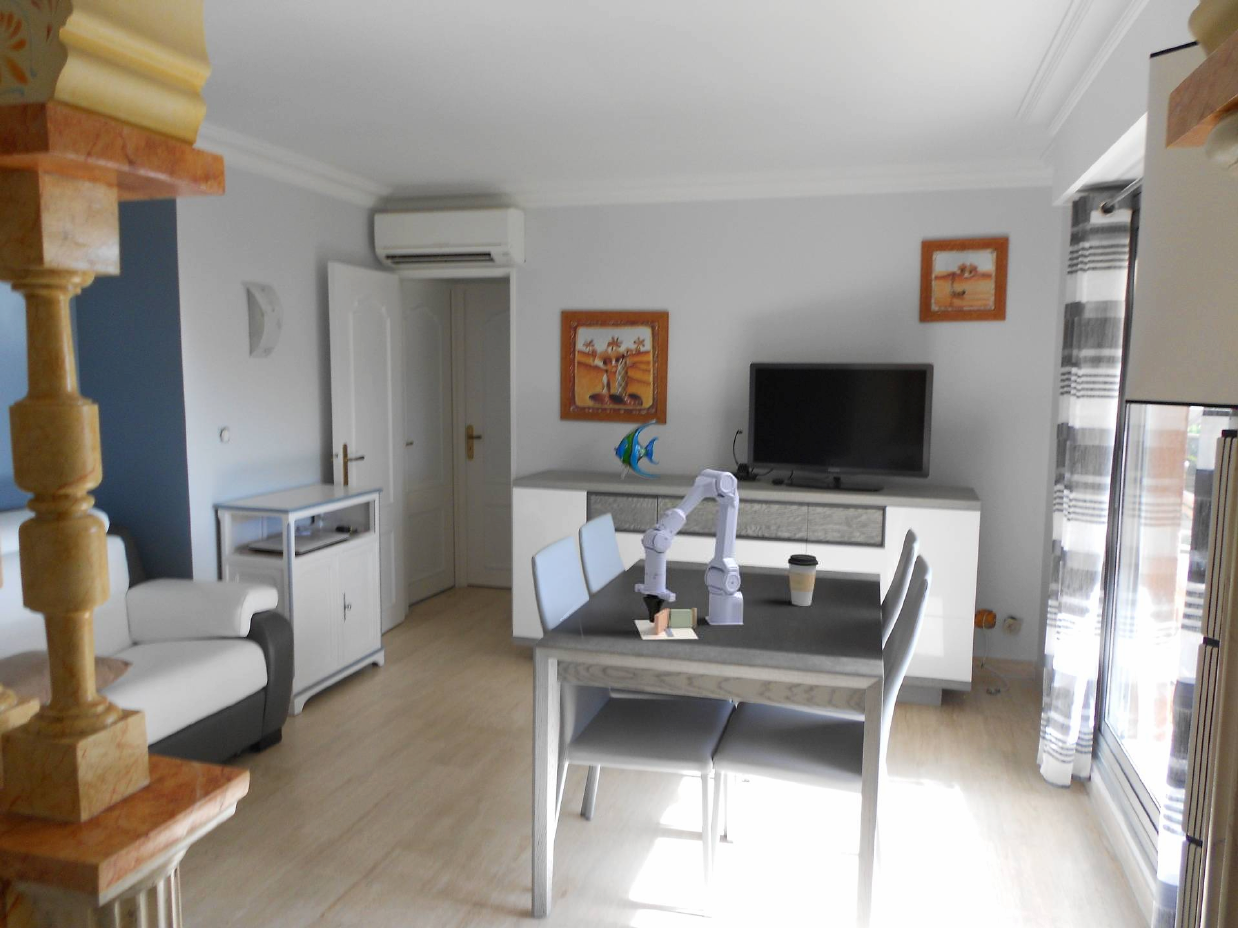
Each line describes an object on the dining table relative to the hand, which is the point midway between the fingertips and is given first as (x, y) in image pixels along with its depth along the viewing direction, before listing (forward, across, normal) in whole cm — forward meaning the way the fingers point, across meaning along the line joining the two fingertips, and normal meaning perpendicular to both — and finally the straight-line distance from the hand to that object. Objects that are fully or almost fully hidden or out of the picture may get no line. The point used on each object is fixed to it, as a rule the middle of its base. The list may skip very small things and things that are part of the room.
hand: (653, 621), depth 241 cm
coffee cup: (+3, +3, +59) cm, 59 cm away
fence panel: (+2, +1, +2) cm, 3 cm away
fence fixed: (+3, +2, +10) cm, 10 cm away
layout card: (+3, 0, +4) cm, 5 cm away
